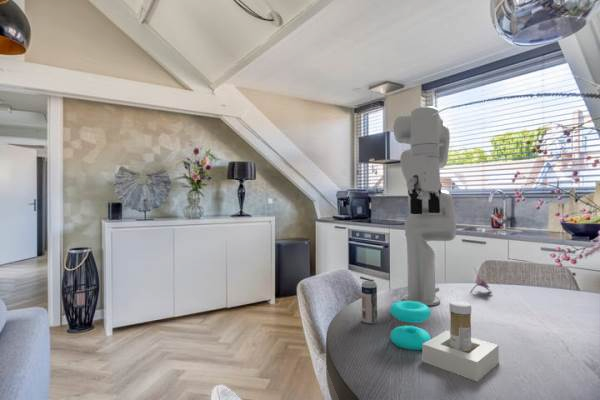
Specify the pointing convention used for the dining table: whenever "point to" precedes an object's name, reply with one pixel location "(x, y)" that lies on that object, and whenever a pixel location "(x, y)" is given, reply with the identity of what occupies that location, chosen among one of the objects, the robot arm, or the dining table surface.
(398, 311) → the donuts
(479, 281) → the lily
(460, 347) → the sprinkles bottle
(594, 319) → the dining table surface
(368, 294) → the beer can
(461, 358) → the socket block
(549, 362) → the dining table surface
